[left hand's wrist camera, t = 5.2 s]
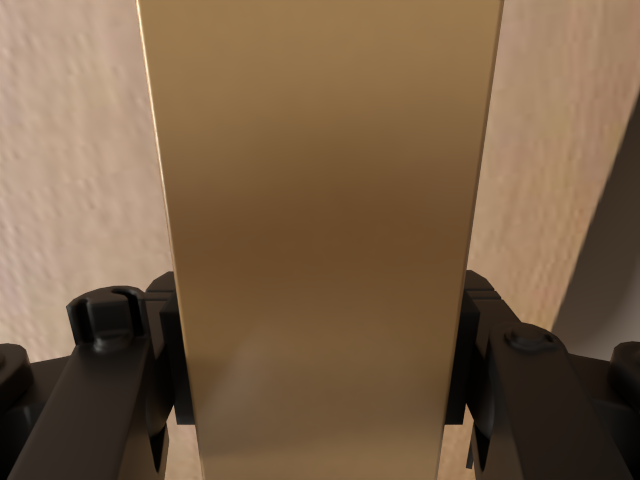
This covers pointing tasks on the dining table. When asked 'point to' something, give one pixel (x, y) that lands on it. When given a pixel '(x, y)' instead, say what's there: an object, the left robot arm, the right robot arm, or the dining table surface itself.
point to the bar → (319, 222)
